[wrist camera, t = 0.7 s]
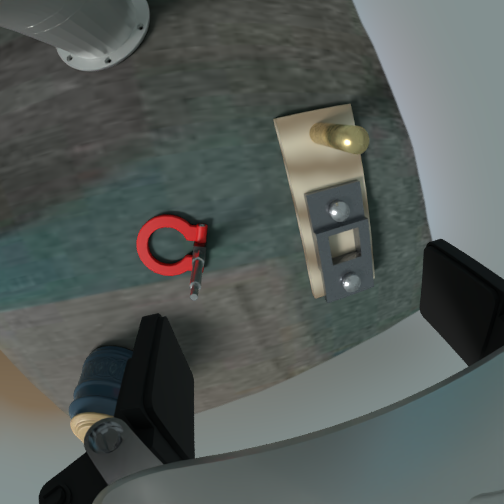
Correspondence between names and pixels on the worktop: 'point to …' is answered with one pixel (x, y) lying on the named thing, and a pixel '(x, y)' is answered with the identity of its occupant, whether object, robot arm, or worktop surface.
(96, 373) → the canister
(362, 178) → the jig board
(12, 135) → the worktop surface
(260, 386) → the worktop surface
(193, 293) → the tow hook
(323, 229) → the riveted slotted plate
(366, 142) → the pin
